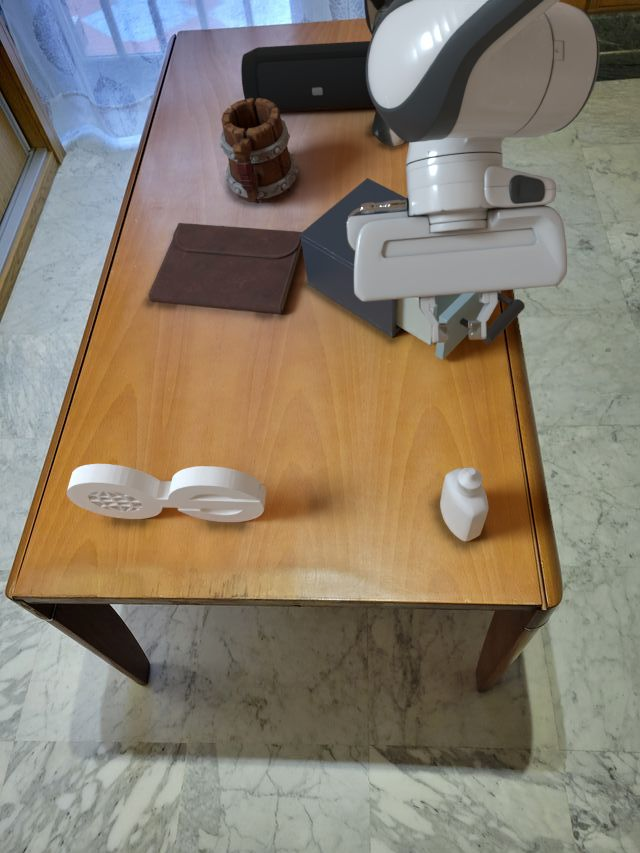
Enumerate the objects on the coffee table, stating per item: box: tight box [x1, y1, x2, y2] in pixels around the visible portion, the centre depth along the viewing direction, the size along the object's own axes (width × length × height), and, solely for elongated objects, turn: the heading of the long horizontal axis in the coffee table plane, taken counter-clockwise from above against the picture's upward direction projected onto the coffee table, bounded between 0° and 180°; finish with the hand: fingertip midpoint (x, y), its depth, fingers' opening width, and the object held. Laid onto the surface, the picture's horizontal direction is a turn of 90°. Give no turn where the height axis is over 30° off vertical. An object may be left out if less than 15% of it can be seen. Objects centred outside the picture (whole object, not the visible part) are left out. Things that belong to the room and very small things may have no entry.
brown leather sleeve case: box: [148, 222, 303, 315], centre depth 93 cm, size 15×20×2 cm
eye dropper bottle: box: [439, 466, 490, 542], centre depth 66 cm, size 4×6×12 cm
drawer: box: [396, 290, 526, 361], centre depth 82 cm, size 19×12×8 cm, turn 47°
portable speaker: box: [240, 40, 375, 112], centre depth 108 cm, size 26×10×10 cm, turn 86°
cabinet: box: [300, 177, 409, 338], centre depth 86 cm, size 16×14×10 cm
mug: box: [219, 98, 299, 204], centre depth 97 cm, size 12×14×15 cm
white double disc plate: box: [66, 463, 267, 523], centre depth 71 cm, size 22×2×10 cm, turn 86°
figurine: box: [363, 0, 407, 147], centre depth 96 cm, size 9×7×25 cm
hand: (458, 340), depth 63 cm, fingers closed
